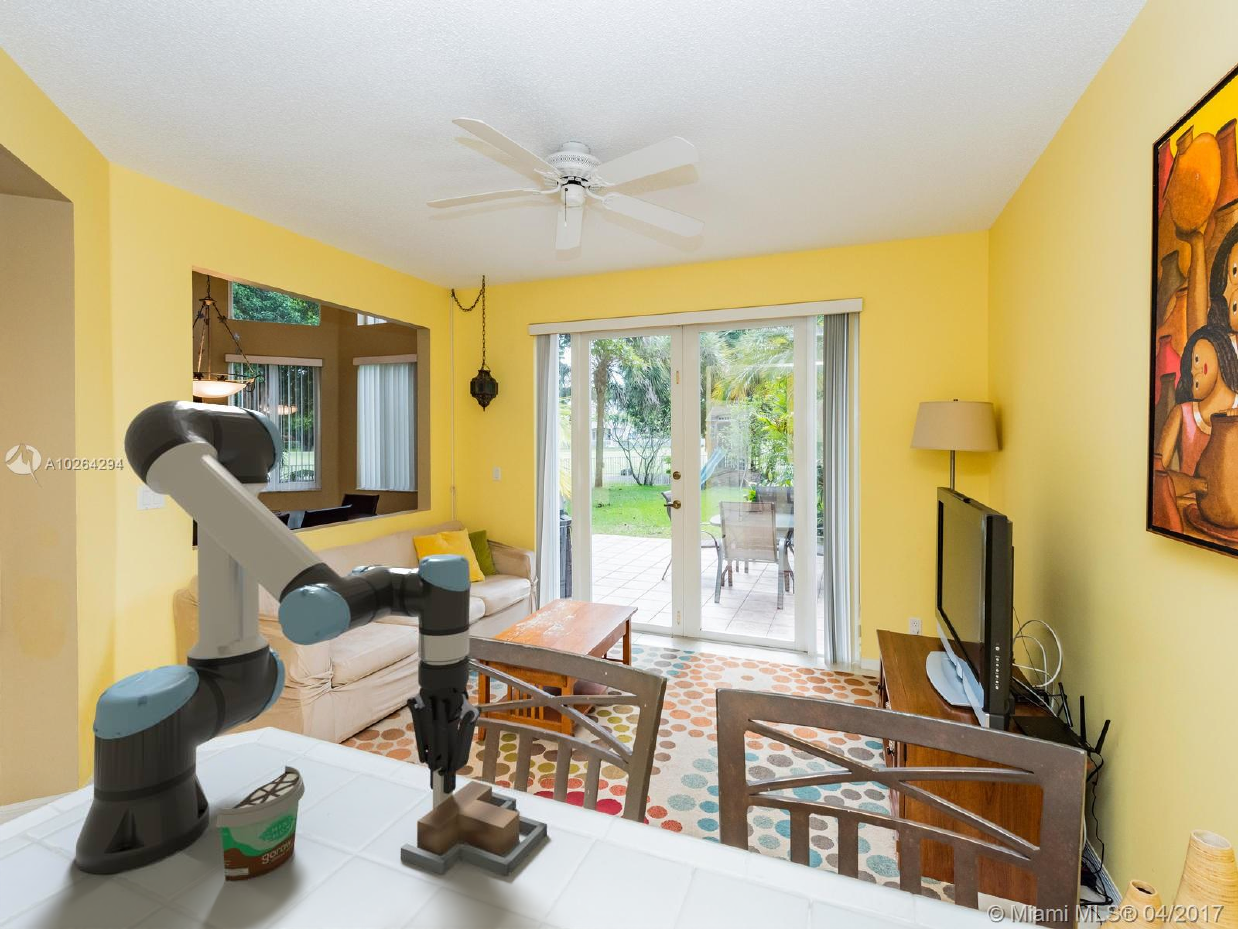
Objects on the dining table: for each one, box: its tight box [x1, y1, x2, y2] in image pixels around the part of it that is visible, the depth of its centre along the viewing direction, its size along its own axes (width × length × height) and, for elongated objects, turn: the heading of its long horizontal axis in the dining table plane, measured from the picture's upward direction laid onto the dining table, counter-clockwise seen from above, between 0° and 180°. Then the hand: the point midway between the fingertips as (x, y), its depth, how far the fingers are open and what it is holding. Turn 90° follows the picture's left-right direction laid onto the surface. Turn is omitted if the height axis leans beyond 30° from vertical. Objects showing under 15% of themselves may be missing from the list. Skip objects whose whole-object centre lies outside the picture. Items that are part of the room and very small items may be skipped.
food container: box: [216, 765, 306, 882], centre depth 81 cm, size 12×6×10 cm, turn 168°
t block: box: [416, 780, 520, 857], centre depth 87 cm, size 12×12×4 cm
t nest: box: [400, 791, 548, 877], centre depth 86 cm, size 16×17×2 cm
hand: (442, 811), depth 89 cm, fingers closed
